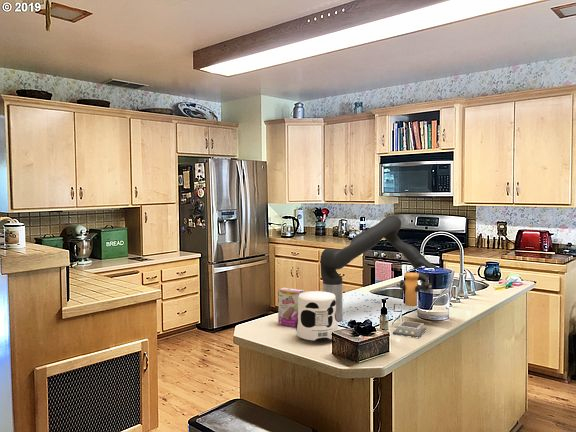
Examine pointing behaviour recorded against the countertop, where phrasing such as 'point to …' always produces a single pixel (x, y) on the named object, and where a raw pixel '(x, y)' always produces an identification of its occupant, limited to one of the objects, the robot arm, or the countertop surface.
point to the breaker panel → (410, 329)
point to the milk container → (316, 316)
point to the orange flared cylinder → (410, 288)
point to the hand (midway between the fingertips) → (409, 288)
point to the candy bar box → (288, 306)
